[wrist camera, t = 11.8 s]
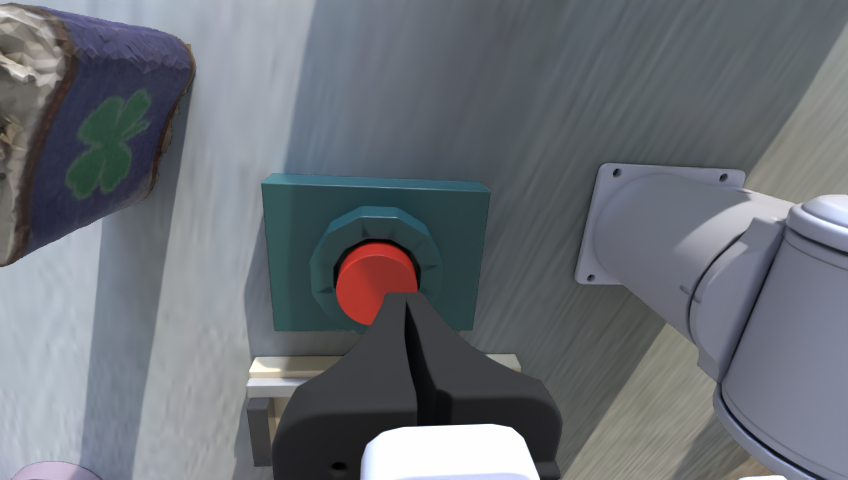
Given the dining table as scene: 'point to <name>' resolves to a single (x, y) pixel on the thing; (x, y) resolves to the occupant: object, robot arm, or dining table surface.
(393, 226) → the control block
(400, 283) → the button
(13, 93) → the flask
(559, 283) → the dining table surface
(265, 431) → the tap rail
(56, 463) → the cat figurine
